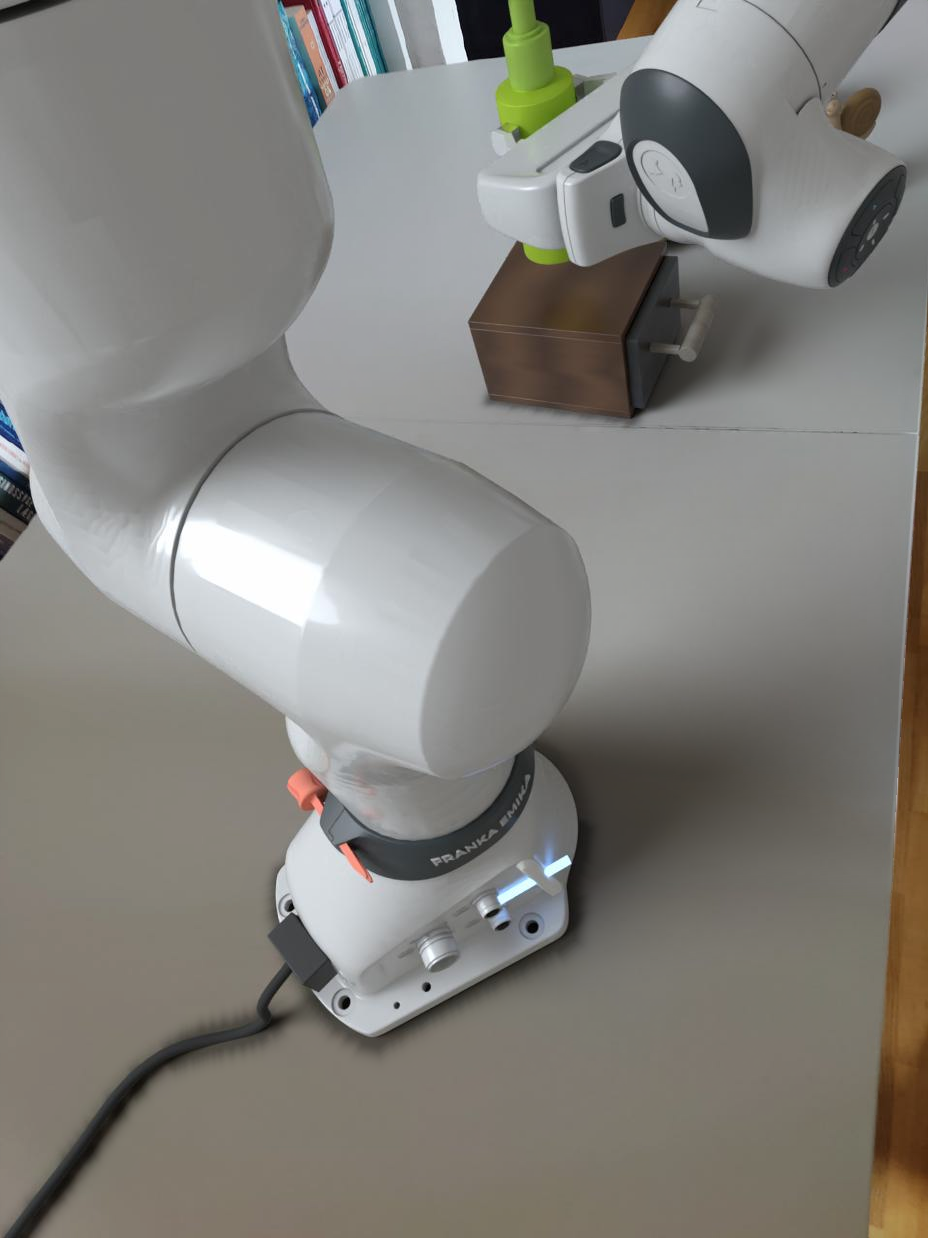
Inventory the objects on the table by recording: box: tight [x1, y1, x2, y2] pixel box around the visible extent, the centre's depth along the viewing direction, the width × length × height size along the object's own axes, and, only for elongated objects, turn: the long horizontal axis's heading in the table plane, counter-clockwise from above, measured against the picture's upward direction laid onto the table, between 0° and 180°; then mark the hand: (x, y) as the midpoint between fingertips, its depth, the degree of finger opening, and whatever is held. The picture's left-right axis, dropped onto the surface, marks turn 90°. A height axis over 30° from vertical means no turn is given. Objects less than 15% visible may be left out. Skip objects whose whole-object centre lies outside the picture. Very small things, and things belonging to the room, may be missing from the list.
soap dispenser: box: [494, 0, 576, 265], centre depth 66 cm, size 6×7×20 cm
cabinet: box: [467, 240, 668, 420], centre depth 81 cm, size 15×13×10 cm
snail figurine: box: [825, 87, 882, 140], centre depth 84 cm, size 5×6×12 cm
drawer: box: [625, 255, 720, 409], centre depth 79 cm, size 18×11×8 cm, turn 65°
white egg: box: [823, 96, 833, 113], centre depth 95 cm, size 10×7×7 cm
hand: (533, 113), depth 65 cm, fingers closed on soap dispenser, 6 cm apart
